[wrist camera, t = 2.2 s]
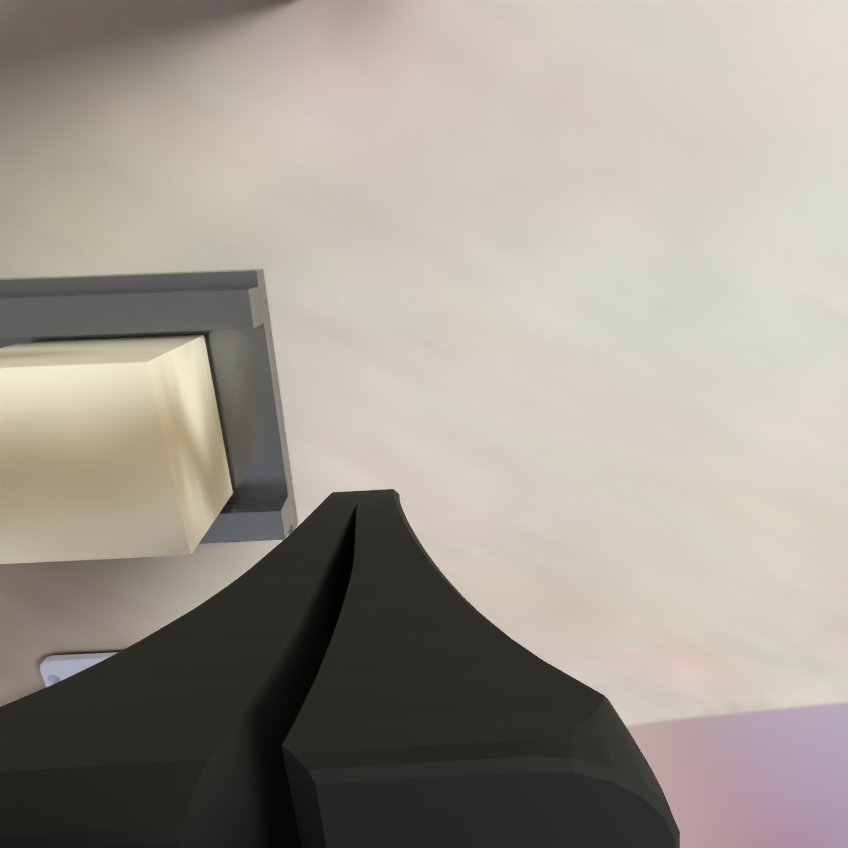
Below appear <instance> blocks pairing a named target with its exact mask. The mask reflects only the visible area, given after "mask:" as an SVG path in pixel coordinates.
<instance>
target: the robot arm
mask: <svg viewBox="0 0 848 848" xmlns="http://www.w3.org/2000/svg"><path fill="white" fill-rule="evenodd" d="M39 669H40V672H41V675H42V678H43V680H44V683H45V685H46V688H44V689H42V690H40V691H38V692H35V693H33V694H30V695H28V696H26V697H23V698H21V699H18V700H16V701H14V702H11V703H9V704H7V705H4V706H2V707H0V848H680V847H679V846H680V843H679V842H680V840H679V839H680V835H679V834H680V832H679V829H678V827H677V825H676V822H675V820H674V818H673V816H672V813H671V810H670V807H669V805H668V802H667V800H666V798H665V795H664V793H663V791H662V789H661V787H660V785H659V783H658V781H657V779H656V778H655V775H654V773H653V771H652V770H651V768H650V766H649V764H648V762H647V761H646V759H645V757H644V756H643V754H642V752H641V751H640V749H639V748H638V746H637V744H636V742H635V741H634V739H633V737H632V736H631V734H630V733H629V731H628V729H627V728H626V726H625V725H624V723H623V722H622V720H621V718H620V717H619V715H618V714H617V712H616V711H615V709H614V708H613V706H612V705H611V703H610V702H609V700H608V699H607V698H606V697H605V696H604V695H602V694H601V693H599V692H597V691H595V690H594V689H592V688H590V687H588V686H587V685H585V684H583V683H581V682H580V681H578V680H576V679H574V678H573V677H571V676H569V675H567V674H566V673H564V672H562V671H560V670H559V669H557V668H555V667H553V666H552V665H550V664H548V663H546V662H545V661H543V660H542V659H540V658H538V657H537V656H535V655H534V654H533V653H531V652H530V651H528V650H527V649H525V648H524V647H522V646H521V645H520V644H518V643H517V642H515V641H514V640H512V639H511V638H510V637H508V636H507V635H506V634H505V633H504V632H502V631H501V630H500V629H499V628H498V627H496V626H495V625H494V624H493V623H491V622H490V621H489V620H488V619H487V618H485V617H484V616H483V615H482V614H481V613H479V612H478V611H477V610H476V609H475V608H474V607H473V606H472V605H471V604H470V603H469V602H468V601H467V600H466V599H465V598H464V597H463V596H462V595H461V594H460V593H459V592H458V591H457V590H456V588H455V587H454V586H453V585H452V584H451V583H450V582H449V581H448V580H447V578H446V577H445V576H444V575H443V574H442V572H441V571H440V570H439V569H438V567H437V566H436V565H435V563H434V562H433V561H432V559H431V558H430V557H429V555H428V554H427V552H426V551H425V549H424V548H423V546H422V545H421V543H420V542H419V540H418V538H417V537H416V535H415V533H414V532H413V530H412V528H411V527H410V525H409V523H408V521H407V519H406V516H405V514H404V512H403V510H402V507H401V504H400V498H399V494H398V493H397V492H396V491H395V490H394V489H388V490H370V491H351V492H333V493H332V494H330V495H329V496H328V497H327V498H326V499H325V500H324V501H323V502H322V503H321V504H320V505H319V506H318V507H317V508H316V509H315V510H314V511H313V512H312V513H311V514H310V515H309V516H308V517H307V518H306V519H305V520H304V521H303V522H302V523H301V524H300V525H299V526H298V527H297V528H296V529H295V530H294V531H293V532H292V533H291V534H290V535H289V536H288V537H287V538H286V539H285V540H283V541H282V542H281V543H280V544H279V545H278V546H276V547H275V548H274V549H273V550H272V551H271V552H269V553H268V554H267V555H266V556H265V557H264V558H262V559H261V560H260V561H259V562H258V563H257V564H255V565H254V566H253V567H252V568H251V569H250V570H248V571H247V572H246V573H244V574H243V575H242V576H241V577H239V578H238V579H237V580H235V581H234V582H233V583H231V584H230V585H228V586H227V587H226V588H224V589H223V590H221V591H220V592H218V593H217V594H216V595H214V596H213V597H211V598H210V599H208V600H207V601H205V602H204V603H202V604H201V605H199V606H198V607H196V608H195V609H193V610H192V611H190V612H188V613H187V614H185V615H183V616H181V617H180V618H178V619H176V620H175V621H173V622H171V623H170V624H168V625H166V626H165V627H163V628H161V629H160V630H158V631H156V632H154V633H153V634H151V635H149V636H148V637H146V638H144V639H143V640H141V641H139V642H137V643H135V644H134V645H132V646H130V647H128V648H126V649H124V650H122V651H120V652H113V653H94V654H74V655H54V656H48V657H47V658H45V659H44V661H43V662H42V663H41V664H40V666H39Z"/></svg>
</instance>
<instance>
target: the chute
mask: <svg viewBox="0 0 848 848" xmlns="http://www.w3.org/2000/svg"><path fill="white" fill-rule="evenodd" d="M188 335H204V338H205V343H206V349H207V354H208V360H209V365H210V371H211V376H212V381H213V387H214V392H215V398H216V403H217V409H218V414H219V420H220V425H221V430H222V436H223V441H224V447H225V452H226V458H227V463H228V469H229V474H230V479H231V485H232V490H233V494H232V495H231V497H230V498H229V500H228V501H227V503H226V504H225V506H224V507H223V509H222V510H221V512H220V513H219V514H218V516H217V517H216V519H215V520H214V522H213V523H212V525H211V526H210V528H209V529H208V531H207V532H206V534H205V535H204V536H203V538H202V539H201V541H200V542H199V543H220V542H241V541H262V540H284V539H286V536H287V534H291V533H292V532H293V531H294V530H295V528H296V526H297V523H298V522H297V514H296V507H295V500H294V493H293V485H292V478H291V471H290V463H289V456H288V449H287V442H286V434H285V427H284V420H283V412H282V405H281V398H280V390H279V383H278V376H277V369H276V361H275V354H274V347H273V339H272V332H271V325H270V318H269V310H268V303H267V296H266V288H265V281H264V274H263V269H256V270H228V271H201V272H173V273H146V274H119V275H91V276H64V277H37V278H9V279H0V348H3V347H7V346H10V345H14V344H18V343H22V342H34V341H60V340H85V339H111V338H137V337H162V336H188Z"/></svg>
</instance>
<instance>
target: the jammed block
mask: <svg viewBox="0 0 848 848" xmlns="http://www.w3.org/2000/svg"><path fill="white" fill-rule="evenodd" d="M232 494H233V490H232V485H231V479H230V474H229V469H228V463H227V458H226V452H225V447H224V441H223V436H222V430H221V425H220V420H219V414H218V409H217V403H216V398H215V392H214V387H213V381H212V376H211V371H210V365H209V360H208V354H207V349H206V343H205V338H204V335H188V336H162V337H137V338H111V339H85V340H60V341H34V342H22V343H18V344H14V345H10V346H7V347H3V348H0V564H15V563H36V562H57V561H78V560H99V559H120V558H141V557H162V556H184V555H191V554H192V553H193V551H194V550H195V548H196V547H197V545H198V544H199V542H200V541H201V539H202V538H203V536H204V535H205V534H206V532H207V531H208V529H209V528H210V526H211V525H212V523H213V522H214V520H215V519H216V517H217V516H218V514H219V513H220V512H221V510H222V509H223V507H224V506H225V504H226V503H227V501H228V500H229V498H230V497H231V495H232Z"/></svg>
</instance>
